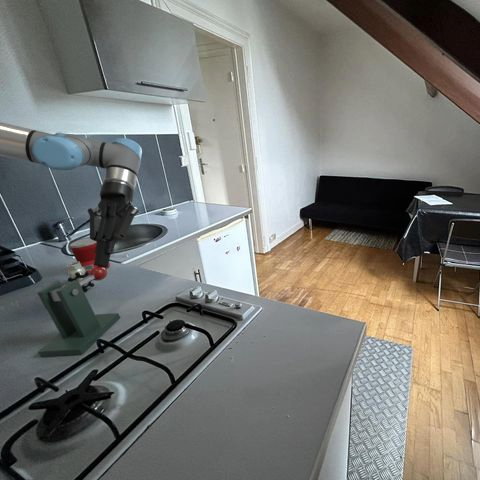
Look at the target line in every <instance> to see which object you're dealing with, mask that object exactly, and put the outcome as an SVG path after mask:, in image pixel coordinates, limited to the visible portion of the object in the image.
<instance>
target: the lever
mask: <svg viewBox="0 0 480 480" xmlns="http://www.w3.org/2000/svg"><path fill="white" fill-rule="evenodd" d="M107 275H108V270H107V269H105V268H104V267H100V266H97V267H94V268H92V269H91V270H90V271H89V276H87V277H85V278H83V279H81V280H79V283H80V285H81V287H82V285H84V286H85V284H88V282H89V281H91V280H93V281H103V280H104V279H106V277H107ZM91 282H92V281H91ZM62 285H63V286H59V287H57V288H55V289H53V290H51V291H49V293H50V296H51V298H52V300H53V301H61V300H60V298H59V296H58V294H57V292H56V291H58V290H59V289H61V288H62V287H64V286H66V285H67V284H65V285H64V284H62Z"/></svg>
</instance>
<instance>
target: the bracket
mask: <svg viewBox="0 0 480 480" xmlns="http://www.w3.org/2000/svg"><path fill="white" fill-rule="evenodd" d="M63 285H64V284H63V283H62V282H61V280H57V281H56V280H55V281H54V282H52V283H51V284H49V285H47V286H46V287H44V288H42V289H41V290H39V291H37V292H36V294H37V295H38V297H39V299H40V301H41V303H42V304H43V306H44V308H45V309H46V311H47V313H48V315H49V316H50V319H51V321H52V322H53V323H54V325H55V327H56V329H57V330H58V332H59V334H58V335H57V336H55V337H54V338H53V339H52V340H51V341H49V342H48V343H47V344H46V345H45V346H43V347H42V348H41V349H40V350H38V351H37V353H38V354H39V356H40V357H41V358H45V357H61V356H76V355H77V356H78V355H79V356H80V355H83V354H85V353H86V351H88V350H89V349H90V348H91V347H92V346H93V345H94V344H95V343H96V342H97V341H98V340H99V339H100V338H101V337H102V336H103V335H104V334H105V333H106V332H107V331H108V330H109V329H111V328H112V326H114V325H115V323H117V322H118V321H119V320H120V319H121V316H120V314H119V313H118V312H115V313H114V312H113V313H101V314H99V313H98V314H97V313H95V312H94V310H93V308H92V306H91V304H90V302H89V300H88V297H87V296H86V294H85V293H86V292H84V291H83V289H82V286H81V285H80V283H79V281H78V280H74V281H72V282H68V283H67V284H65V285H66V286H64V287H62V288H61V289H59V290H58V291H56V292H57V294H58V296H59V298H60V300H61V301H53V300H52V298H51V296H50V293H49V291H51V290H53V289H55V288H57V287H59V286H63Z"/></svg>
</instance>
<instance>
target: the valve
mask: <svg viewBox="0 0 480 480" xmlns="http://www.w3.org/2000/svg"><path fill="white" fill-rule="evenodd" d="M65 267H66V268H67V270H68V273H67V274H68V276H69V277H67V282H68V283H70V282H72V281H74V280H78V281H79V280H81V279H83V278H85V277H87V276H89V272H86V270H85V269H84V268H83V267H82V266H81V264H80V262H79V261H77V260H76V261H72V262H69V263H67V264H66V266H65ZM92 281H93V282H92ZM81 287H82V289H83V291H84V293H87V292H88V288H89V287H90V288H93V287H95V283H94V280H91V281H89V282H87V283H86V285H85V284H84V285H82V286H81Z"/></svg>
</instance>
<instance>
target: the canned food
mask: <svg viewBox="0 0 480 480" xmlns="http://www.w3.org/2000/svg"><path fill="white" fill-rule="evenodd" d="M96 244H97V242H96V241H94V240H91V239H90V237H86V238H82V239H77V240H76V241H73V242H72V243H70V244H69V248H70V250H71V252H72V254H73V256H74V258H75V260H76V261H79V262H80V264H81V266H82V267H83V268H84V269H85V270H86V272H89V271H90V270H91V269H92V268H94V267H97V266H95V265H94V261H95V257H96V254H95V248H96ZM110 264H111V263H110V262H109V264H108V267H104V268H105V269H106V270H107V269H108V268H110V266H111V265H110Z"/></svg>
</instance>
